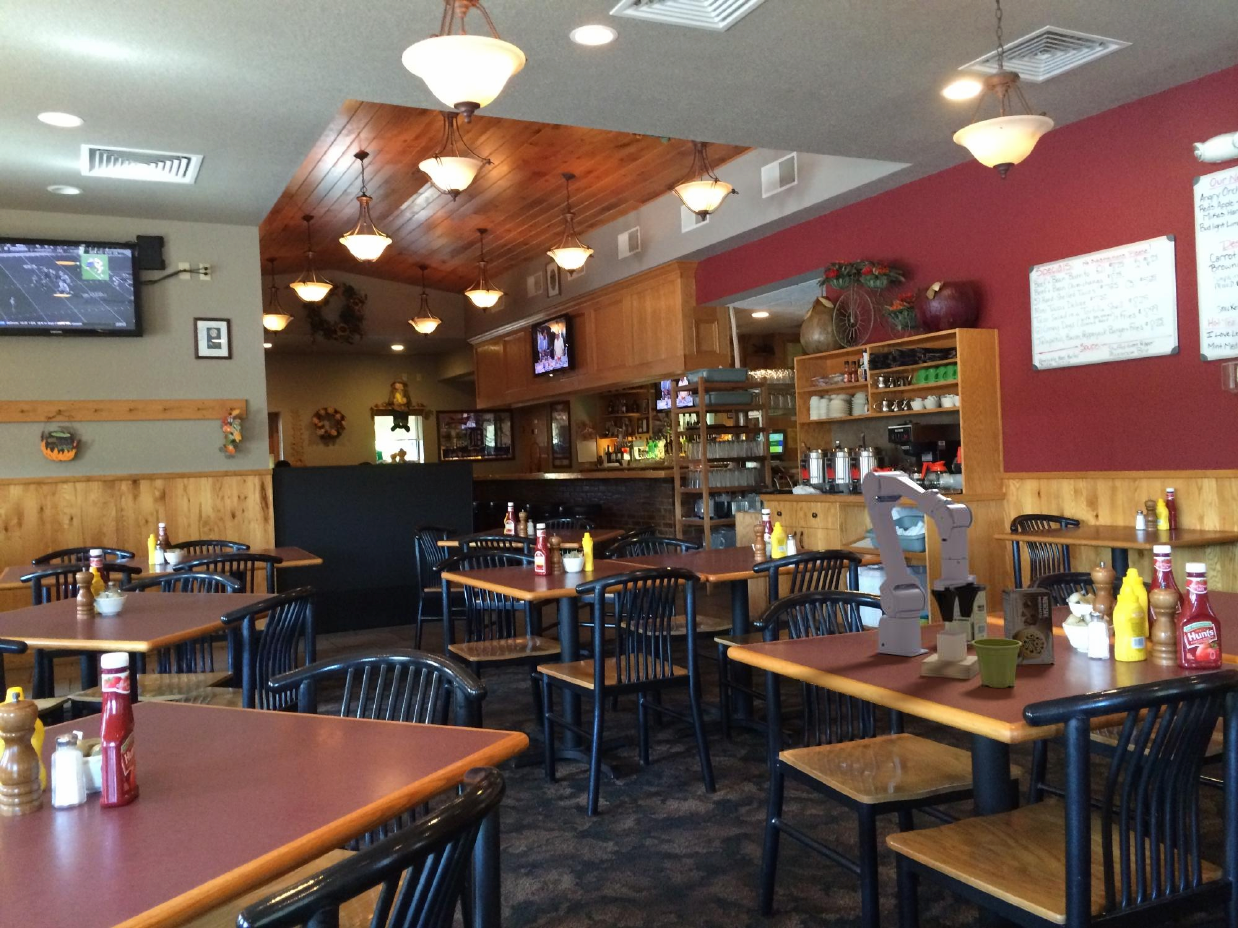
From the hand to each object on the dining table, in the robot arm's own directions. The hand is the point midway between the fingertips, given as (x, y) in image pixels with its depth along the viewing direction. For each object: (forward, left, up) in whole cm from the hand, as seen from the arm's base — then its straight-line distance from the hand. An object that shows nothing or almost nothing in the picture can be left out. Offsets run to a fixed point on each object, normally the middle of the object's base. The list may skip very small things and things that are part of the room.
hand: (956, 619), depth 221 cm
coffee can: (-14, +29, -11) cm, 34 cm away
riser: (+3, -8, -10) cm, 13 cm away
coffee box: (+10, +13, -11) cm, 20 cm away
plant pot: (+16, -13, -11) cm, 23 cm away
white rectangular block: (+3, -8, -7) cm, 11 cm away
